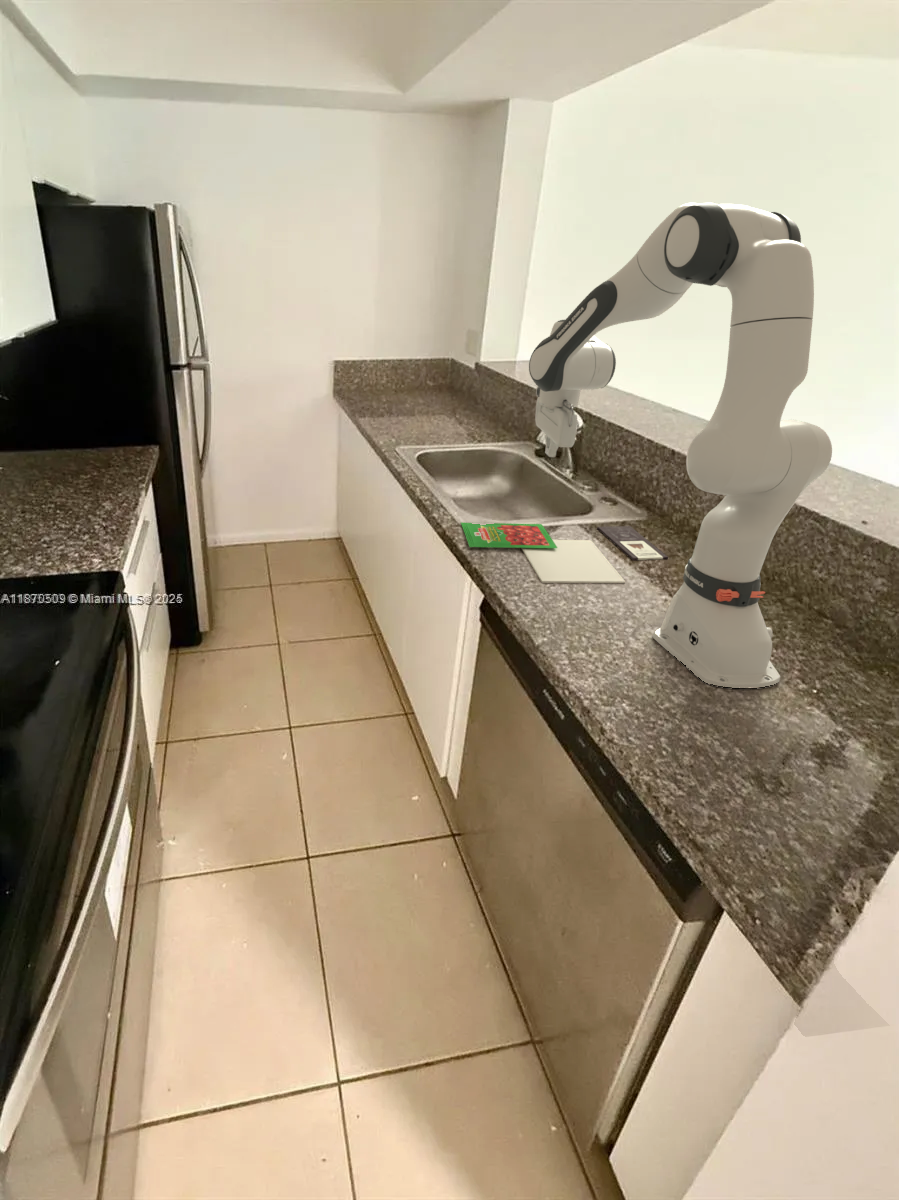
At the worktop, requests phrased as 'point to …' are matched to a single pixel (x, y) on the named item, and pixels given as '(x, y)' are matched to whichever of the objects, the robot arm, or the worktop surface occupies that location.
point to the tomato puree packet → (507, 535)
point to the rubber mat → (572, 563)
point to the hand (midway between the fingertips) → (550, 455)
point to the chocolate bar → (632, 543)
